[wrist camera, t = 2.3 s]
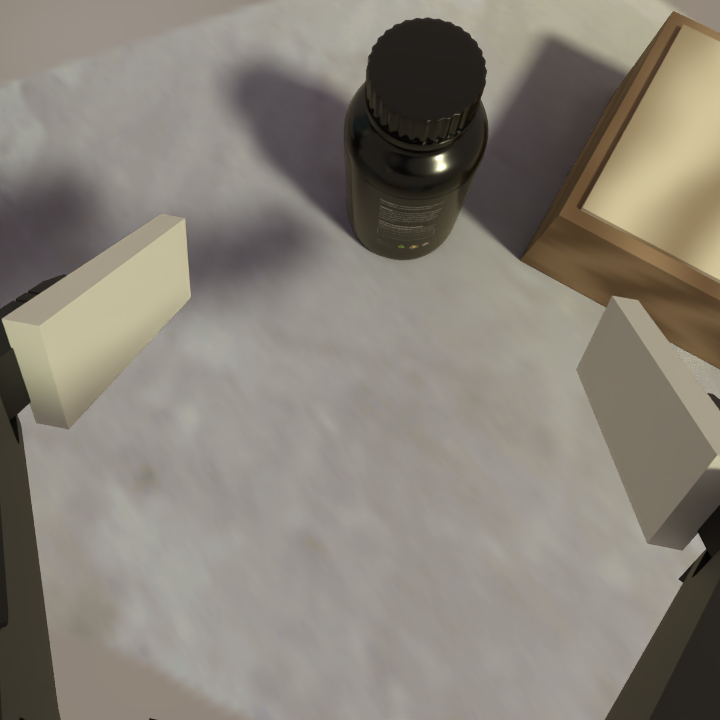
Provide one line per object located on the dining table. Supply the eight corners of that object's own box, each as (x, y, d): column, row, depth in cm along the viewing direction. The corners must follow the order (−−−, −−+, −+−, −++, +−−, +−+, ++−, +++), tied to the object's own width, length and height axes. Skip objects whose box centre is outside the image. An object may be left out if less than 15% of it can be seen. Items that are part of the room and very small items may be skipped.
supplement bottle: (476, 208, 31) (548, 62, 19) (406, 284, 30) (437, 180, 18) (396, 144, 32) (417, -35, 20) (325, 216, 31) (304, 73, 19)
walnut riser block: (520, 260, 30) (560, 212, 24) (616, 90, 33) (676, 7, 26) (727, 373, 29) (826, 353, 23) (813, 188, 31) (924, 125, 25)
